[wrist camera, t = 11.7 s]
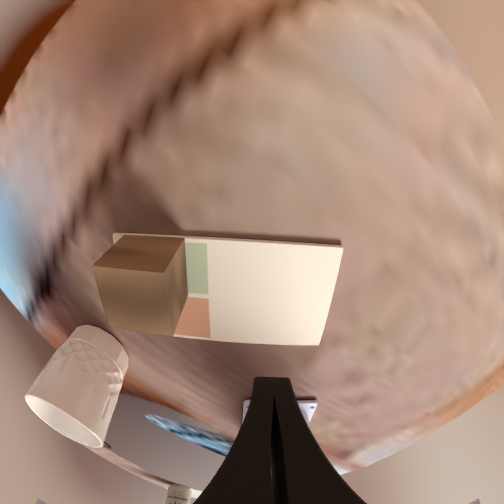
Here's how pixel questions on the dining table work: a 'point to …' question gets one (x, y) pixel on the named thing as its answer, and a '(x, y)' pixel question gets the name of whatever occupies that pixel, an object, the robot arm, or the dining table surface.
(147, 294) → the block
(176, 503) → the energy drink can
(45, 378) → the white cup
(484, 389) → the dining table surface
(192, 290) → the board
